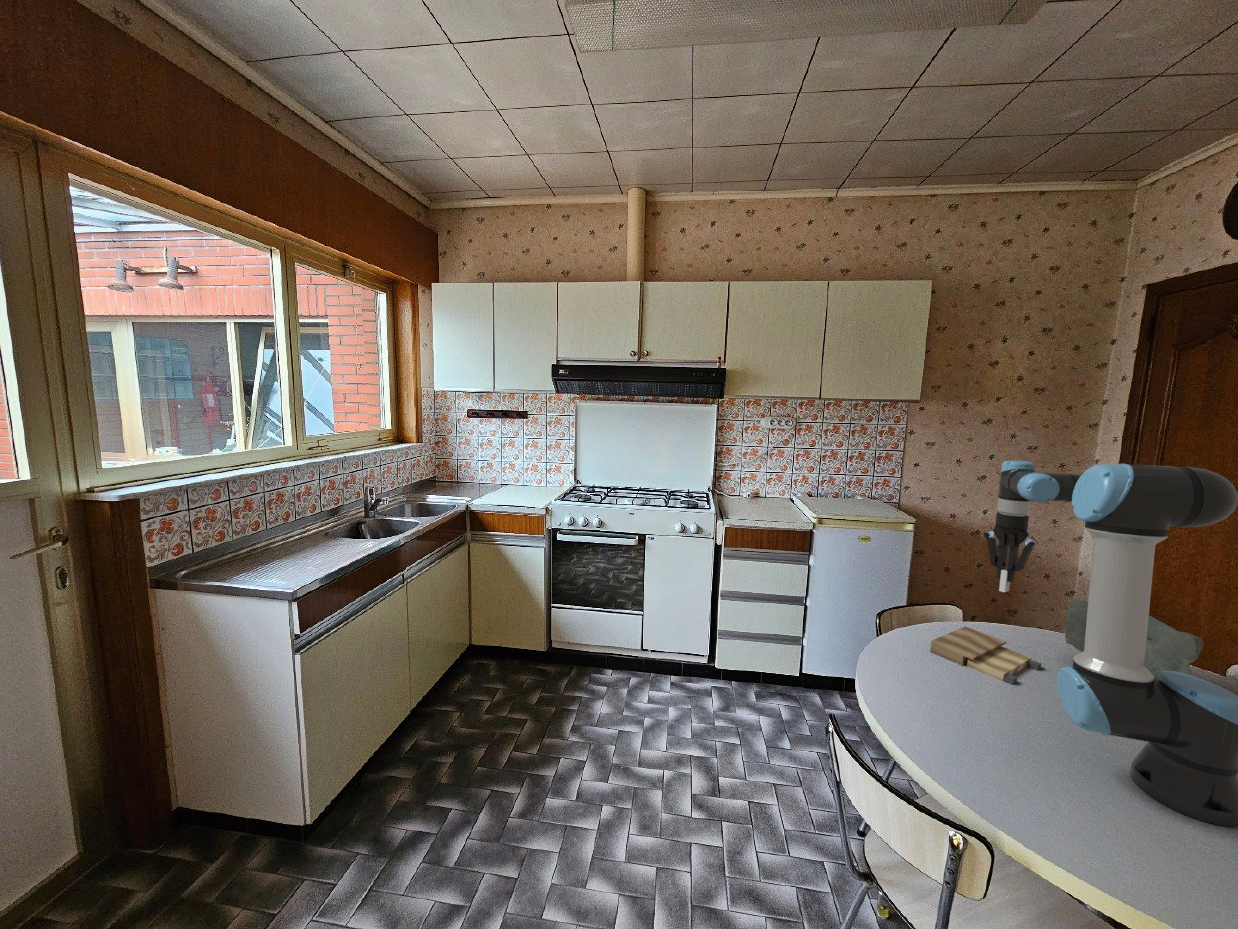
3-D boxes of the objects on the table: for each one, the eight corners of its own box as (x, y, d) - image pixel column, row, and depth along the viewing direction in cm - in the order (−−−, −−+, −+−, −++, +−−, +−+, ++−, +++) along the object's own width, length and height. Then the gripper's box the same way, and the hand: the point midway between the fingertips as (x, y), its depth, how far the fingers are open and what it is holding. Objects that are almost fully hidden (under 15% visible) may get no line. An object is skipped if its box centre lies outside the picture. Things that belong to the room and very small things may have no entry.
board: (971, 669, 144) (973, 657, 143) (930, 652, 153) (931, 640, 153) (1005, 652, 153) (1006, 641, 153) (964, 637, 163) (965, 626, 163)
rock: (1194, 690, 134) (1206, 620, 132) (1194, 699, 130) (1207, 627, 128) (1063, 652, 154) (1071, 590, 151) (1060, 659, 150) (1068, 595, 147)
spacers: (1012, 684, 136) (1013, 679, 136) (1003, 681, 138) (1004, 676, 138) (1040, 668, 145) (1041, 663, 145) (1032, 665, 146) (1033, 660, 146)
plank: (998, 690, 139) (1006, 676, 137) (964, 666, 146) (971, 652, 144) (1026, 672, 148) (1034, 659, 146) (992, 650, 155) (1000, 638, 154)
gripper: (1045, 516, 142) (1036, 596, 145) (993, 508, 154) (985, 582, 156) (1034, 519, 139) (1024, 600, 141) (981, 510, 150) (973, 586, 153)
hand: (1004, 590), depth 149 cm, fingers closed
